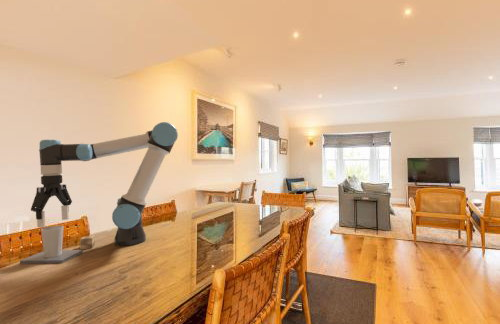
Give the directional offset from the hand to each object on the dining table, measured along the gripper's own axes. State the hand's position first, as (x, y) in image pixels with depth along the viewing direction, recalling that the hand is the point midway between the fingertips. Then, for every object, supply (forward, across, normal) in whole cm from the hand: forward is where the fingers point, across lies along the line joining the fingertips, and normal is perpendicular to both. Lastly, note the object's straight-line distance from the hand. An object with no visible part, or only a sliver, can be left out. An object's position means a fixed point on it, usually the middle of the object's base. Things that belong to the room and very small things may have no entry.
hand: (54, 223), depth 117 cm
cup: (+14, 0, -1) cm, 14 cm away
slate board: (+15, 0, -1) cm, 15 cm away
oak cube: (+16, -14, +5) cm, 22 cm away
